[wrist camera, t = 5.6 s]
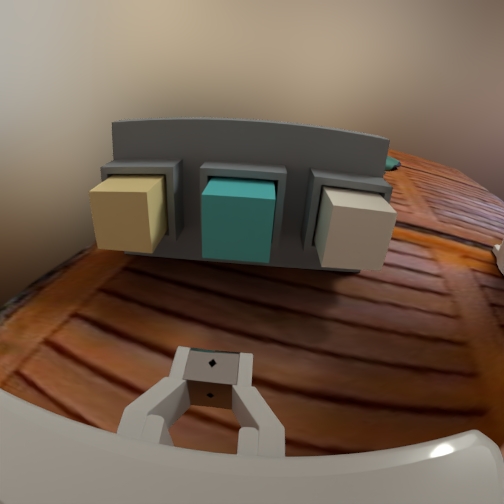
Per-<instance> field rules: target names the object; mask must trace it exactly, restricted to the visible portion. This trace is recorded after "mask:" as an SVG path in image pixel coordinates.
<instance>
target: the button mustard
mask: <svg viewBox="0 0 504 504" xmlns="http://www.w3.org/2000/svg"><path fill="white" fill-rule="evenodd" d="M89 197H90V204H91V211H92V217H93V223H94V229H95V235H96V240H97V245H98V249H108V250H119V251H130V252H141V253H153V252H154V250H155V249H156V247H157V245H158V244H159V242H160V241H161V239H162V238H163V236H164V234H165V233H166V231H167V230H168V213H167V192H166V175H149V174H114V175H112V176H111V177H109V178H108V179H106V180H105V181H103V182H102V183H100V184H99V185H97V186H96V187H95V188H93V189H92V190H90V191H89Z"/></svg>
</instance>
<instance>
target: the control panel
mask: <svg viewBox="0 0 504 504" xmlns="http://www.w3.org/2000/svg"><path fill="white" fill-rule="evenodd" d="M112 140H113V157H114V160H113V161H111V162H109V163H107V164H106V165H104V166H102V167H101V179H102V182H103V181H105V180H106V179H108V178H109V177H111V176H112V175H114V174H149V175H166V192H167V213H168V230H167V231H166V233H165V234H164V236H163V238H162V239H161V241H160V242H159V244H158V245H157V247H156V249H155V250H154V252H153V253H141V252H130V251H124V254H132V255H143V256H154V257H166V258H177V259H189V260H201V261H213V262H225V263H237V264H250V265H263V266H276V267H289V268H302V269H316V270H330V271H345V272H359V273H360V271H361V270H357V269H343V268H329V267H321V263H320V260H319V256H318V252H317V249H316V245H315V241H314V236H315V230H316V224H317V218H318V212H319V206H320V200H321V193H322V187H323V186H331V187H339V188H347V189H355V190H362V191H369V192H376V193H379V194H380V195H381V196H382V197H383V198H384V199H385V200H386V201H387V202H388V204H389V203H390V198H391V194H392V189H393V187H392V186H391V185H390V184H388V183H387V182H386V181H385V180H384V179H383V175H384V170H385V165H386V159H387V154H388V147H389V142H390V140H388V139H386V138H384V137H381V136H377V135H371V134H365V133H361V132H355V131H349V130H343V129H337V128H330V127H323V126H315V125H307V124H299V123H289V122H279V121H268V120H254V119H236V118H204V117H201V118H200V117H194V118H193V117H176V118H145V119H129V120H128V119H127V120H119V121H115V122H112ZM212 177H231V178H246V179H260V180H272V181H274V186H275V210H274V219H273V229H272V239H271V248H270V258H269V263H263V262H250V261H237V260H225V259H212V258H202V193H203V191H204V190H205V188H206V186H207V185H208V183H209V181H210V180H211V178H212Z"/></svg>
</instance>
